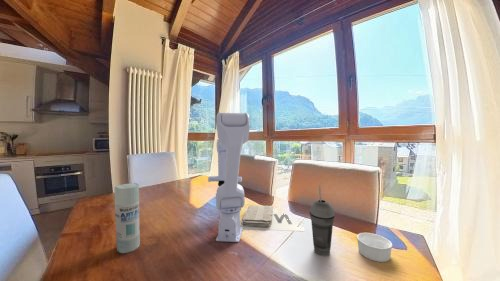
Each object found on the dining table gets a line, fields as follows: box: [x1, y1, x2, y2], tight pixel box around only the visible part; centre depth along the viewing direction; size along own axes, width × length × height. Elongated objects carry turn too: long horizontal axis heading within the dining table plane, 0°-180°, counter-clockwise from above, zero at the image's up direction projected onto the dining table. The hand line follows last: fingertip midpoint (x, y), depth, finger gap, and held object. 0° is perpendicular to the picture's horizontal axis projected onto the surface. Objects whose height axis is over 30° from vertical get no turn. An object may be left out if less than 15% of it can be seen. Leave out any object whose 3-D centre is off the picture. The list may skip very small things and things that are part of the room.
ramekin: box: [356, 232, 393, 263], centre depth 57 cm, size 9×9×4 cm
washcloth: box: [241, 204, 274, 227], centre depth 83 cm, size 12×18×3 cm, turn 172°
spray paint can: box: [113, 182, 141, 254], centre depth 61 cm, size 6×6×20 cm
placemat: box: [240, 207, 305, 232], centre depth 83 cm, size 21×24×1 cm
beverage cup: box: [309, 184, 336, 257], centre depth 58 cm, size 7×7×20 cm
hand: (225, 198), depth 84 cm, fingers closed
